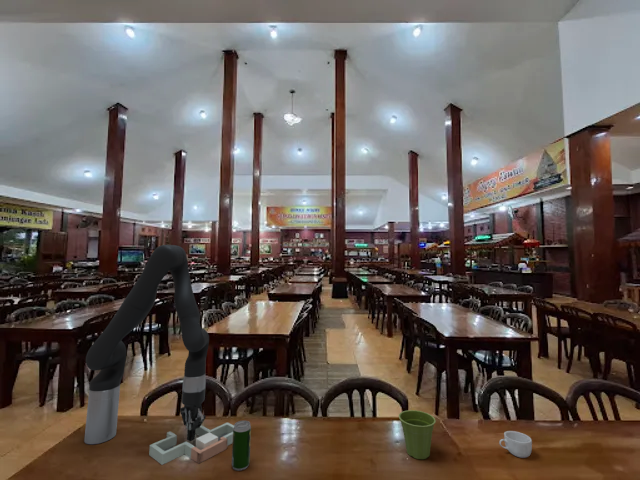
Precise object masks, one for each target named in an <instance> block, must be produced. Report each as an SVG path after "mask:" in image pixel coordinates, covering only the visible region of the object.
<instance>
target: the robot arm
mask: <svg viewBox="0 0 640 480" xmlns="http://www.w3.org/2000/svg"><path fill="white" fill-rule="evenodd" d="M188 263H189V262H188V257H187V253H186V250H185V249H184V248H183V247H181V246H179V245H176V244H163V245H162V244H161V245H160V246H157V247H156V248H155V249H154V250H153V251H152V254H151V255H150V257H149V258H148V261H147V262H146V263H145V264H146V265H145V266H144V268H143V271H142V273H141V274H140V276H139V277H138V279H137V281H136V282H135V284H134V285H133V287H132V288H131V290H130V291H129V293H128V294H127V295H126V297H125V299H124V300H123V302H122V303H121V304H120V306H119V308H118V309H117V311H116V313H115V314H114V316H113V317H112V319H111V320H110V322H108V324H107V326H106V327H105V329H104V330H103V332H102V333H101V334H100V335H99V337H98V338H97V339H95V341H94V342H93V343H92V344H91V346H90V348H89V349H88V351H87V352H86V356H85V365H86V367H87V368H88V369H89V370H90V371H91V370H92V371H99V373H97V375H96V376H94V377H93V378H92V379H90V382H89V388H88V399H87V400H88V401H87V409H86V417H85V418H86V420H85V432H84V439H83V442H84V443H85V444H86V445H98V444H101V443H105V442H107V441H108V442H109V440H111V439H113V438H114V437H115V436H116V435H117V427H118V419H119V418H118V414H119V403H120V402H119V401H120V393H121V392H120V391H121V383H122V382H121V381H122V379H123V377H124V373H125V366H126V357H127V348H126V345H125V343H124V342H123V341H122V340H123V339H124V338H125V337H126V336H127V335H128V334H130V333H131V332H132V331H133V330H134V329H135V328H137V327H138V326H139V325H140V324H141V323H142V322H143V321H144V320H145V319H146V317H147V316H148V314H149V313H150V311H151V310H152V309H153V306H154V305H155V302H156V299H157V293H158V288H159V286H160V284H161V282H162V280H164V277H166V275H167V274H168V273H169V272H170V275H171V277H172V280H173V284H174V285H173V286H174V295H173V297H174V298H173V299H174V300H173V301H174V307H175V308H174V309H175V311H176V315H177V317H178V320H179V323H180V331H181V338H182V342H183V345H184V347H185V349H186V350H187V351H188V353H187V354H188V355H187V358H186V359H185V363H184V373H183V381H182V393H181V404H182V405H183V407H181V408H179V412H180V415H181V419H182V423H183V425H184V426H185V427H186V430H187V431H186V441H187V442H188V441H189V442H192V441H194V440H196V434H195V431H196V429H197V428H199V427H200V426H201V425H202V424H204V421H205V419H206V418H207V417H206V414H203V413H202V411H203V407H202V404H203V402H205V398H206V397H205V396H206V382H207V381H206V380H207V378H206V372H207V371H206V367H207V355H208V350H209V343H210V335H209V333H208V331H207V330H206V329H204V328H202V327H201V323H200V321H201V320H200V319H201V313H200V310H199V308H198V305H197V302H196V298H195V294H194V290H193V285H192V281H191V276H190V269H189V264H188Z"/></svg>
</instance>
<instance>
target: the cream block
mask: <svg viewBox="0 0 640 480" xmlns="http://www.w3.org/2000/svg"><path fill="white" fill-rule="evenodd" d="M216 442H218V437H217V436H215V435H213V434H212V433H210V432H209V433H207V434H205V435H203V436H198V437H195V447H196V448H198V449H200V450H202V449H204V448H206V447H208V446H210V445H212V444H214V443H216Z"/></svg>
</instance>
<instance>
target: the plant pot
mask: <svg viewBox="0 0 640 480" xmlns="http://www.w3.org/2000/svg"><path fill="white" fill-rule="evenodd" d="M398 418H399V420H400V425H401V427H402V433H403V437H404V443H405V448H406V454H408V455H409V456H410V457H413V458H414V459H417V460H427V459H428V458H429V457H430V455H431V447H432V437H433V431H434V425H435V424H436V421H437V420H436V418H435V417H434V416H433V415H431V414H430V413H428V412H424V411H423V410H415V409H414V410H413V409H410V410H404V411H401V412H400V413H398Z"/></svg>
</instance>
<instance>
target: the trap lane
mask: <svg viewBox="0 0 640 480" xmlns="http://www.w3.org/2000/svg"><path fill="white" fill-rule="evenodd" d="M233 428H234V424H232V423H230V422H228V421H227V422H225V423H222V424H221V425H218V426H216V427H214V428H212V429H209V428H207V427H206V426H204V425H202V424H201V426H200V427H199V428H197V429H196V431H195V435H197V436H198V437H200V436H203V435H205V434H207V433H209V432H210V433H212V434H213V435H215V436H217V437H218V442H216V443H214V444H212V445H210V446H208V447H206V448H204V449H202V450H200V449H198V448H196V445H195V446H194V445H193V444H192V443H190V442H188V440H186V441H184V442H182V443H180V444H177V441H178V435H177V434H175V433H174V432H172V431H167V432H166V438H163V439H161V440H159V441H156V442H154V443H152V444H149V450H148V451H149V452H148V453H149V454H148V455H149V457H151V458H152V459H154V460H155V461H156V462H157V463H159V464H160V465H162V466H163V465H165V464H167V463H169V462H171V461H173V460H175V459H177V458H179V457H181V456H183V455H185V456H187V457H188V458H189V459H191V460H192V461H194V462H195V463H197V464H200V463H202V462H205V461H206V460H208V459H210V458H212V457H215V456H216V455H218V454H220V453H222V452H224V451H226V450H227V449H228V446H230V445H231V444H233Z"/></svg>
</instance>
